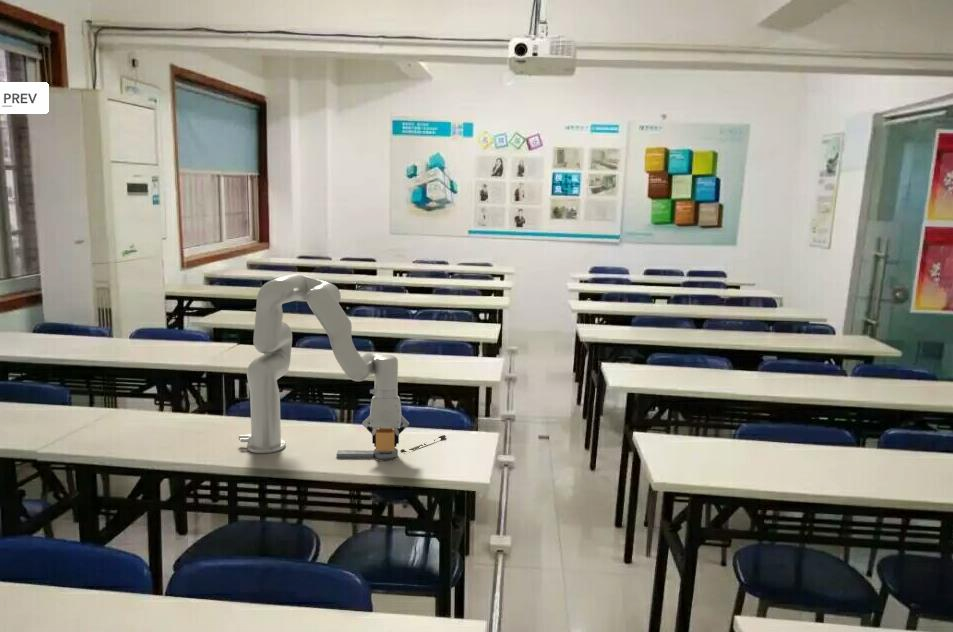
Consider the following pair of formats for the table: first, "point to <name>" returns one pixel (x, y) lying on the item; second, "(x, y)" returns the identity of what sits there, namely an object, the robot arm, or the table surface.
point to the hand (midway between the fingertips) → (385, 444)
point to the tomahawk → (422, 445)
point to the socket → (385, 439)
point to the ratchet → (368, 454)
